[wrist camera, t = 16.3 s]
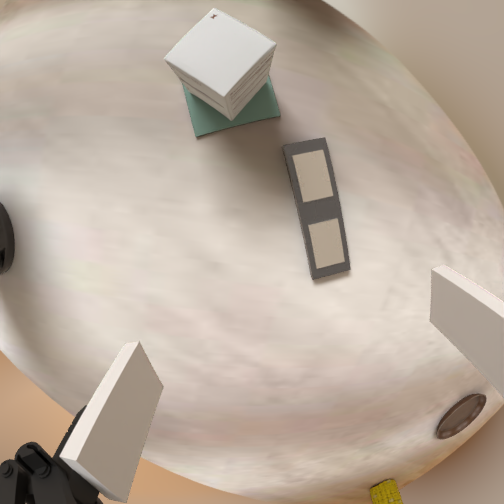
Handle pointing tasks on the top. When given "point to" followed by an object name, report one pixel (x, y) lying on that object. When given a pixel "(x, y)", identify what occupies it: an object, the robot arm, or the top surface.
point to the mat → (254, 110)
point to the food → (386, 493)
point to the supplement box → (222, 62)
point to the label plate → (318, 206)
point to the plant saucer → (460, 415)
